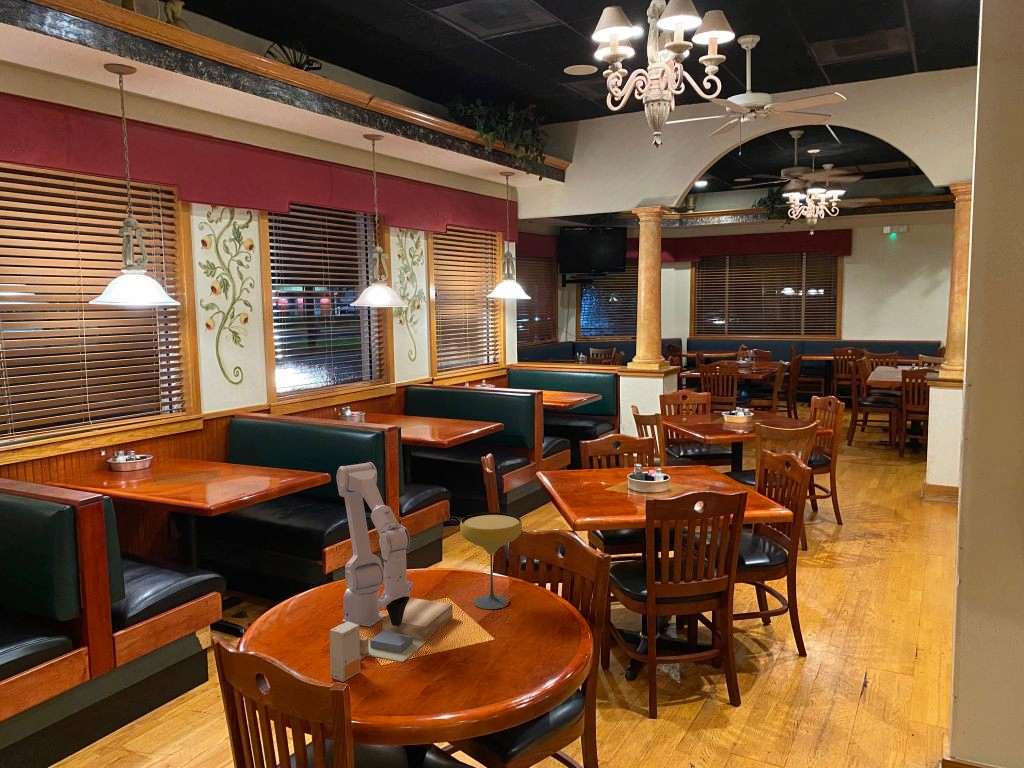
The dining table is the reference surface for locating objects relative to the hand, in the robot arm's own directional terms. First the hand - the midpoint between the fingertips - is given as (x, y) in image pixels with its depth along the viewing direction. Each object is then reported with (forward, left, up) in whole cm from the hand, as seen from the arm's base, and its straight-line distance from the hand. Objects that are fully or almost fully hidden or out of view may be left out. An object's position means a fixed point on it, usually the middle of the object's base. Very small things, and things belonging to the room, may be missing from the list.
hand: (396, 624), depth 199 cm
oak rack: (-6, -11, -5) cm, 13 cm away
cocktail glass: (+12, +34, -5) cm, 36 cm away
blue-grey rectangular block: (0, -2, -3) cm, 4 cm away
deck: (0, +12, -5) cm, 13 cm away
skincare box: (-3, -19, -5) cm, 20 cm away
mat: (0, -3, -5) cm, 6 cm away
